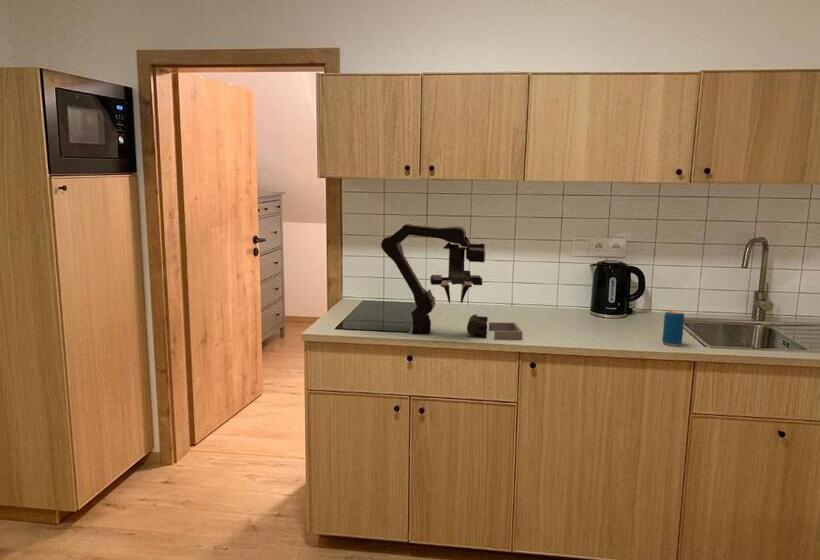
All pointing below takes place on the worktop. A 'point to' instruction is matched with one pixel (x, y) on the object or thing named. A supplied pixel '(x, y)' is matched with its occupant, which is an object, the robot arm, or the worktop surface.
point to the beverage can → (673, 327)
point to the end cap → (477, 326)
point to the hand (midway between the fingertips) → (455, 302)
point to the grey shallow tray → (505, 331)
